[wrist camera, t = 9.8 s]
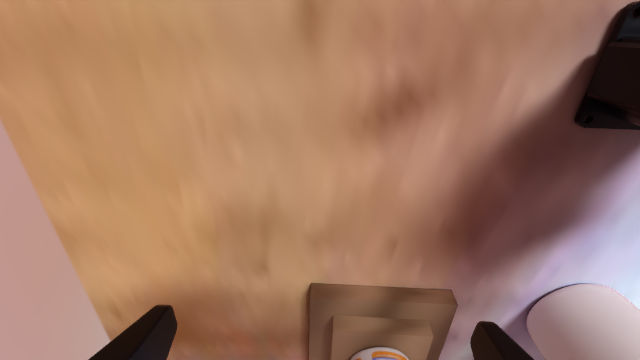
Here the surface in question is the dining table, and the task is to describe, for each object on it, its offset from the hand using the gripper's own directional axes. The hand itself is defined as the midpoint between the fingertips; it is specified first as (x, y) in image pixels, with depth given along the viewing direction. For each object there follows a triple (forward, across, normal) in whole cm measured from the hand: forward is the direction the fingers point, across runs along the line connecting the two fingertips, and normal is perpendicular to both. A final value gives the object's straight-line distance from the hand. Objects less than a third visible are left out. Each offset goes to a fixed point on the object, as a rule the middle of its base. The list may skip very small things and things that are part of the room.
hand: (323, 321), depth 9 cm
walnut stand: (+12, -5, +18) cm, 23 cm away
